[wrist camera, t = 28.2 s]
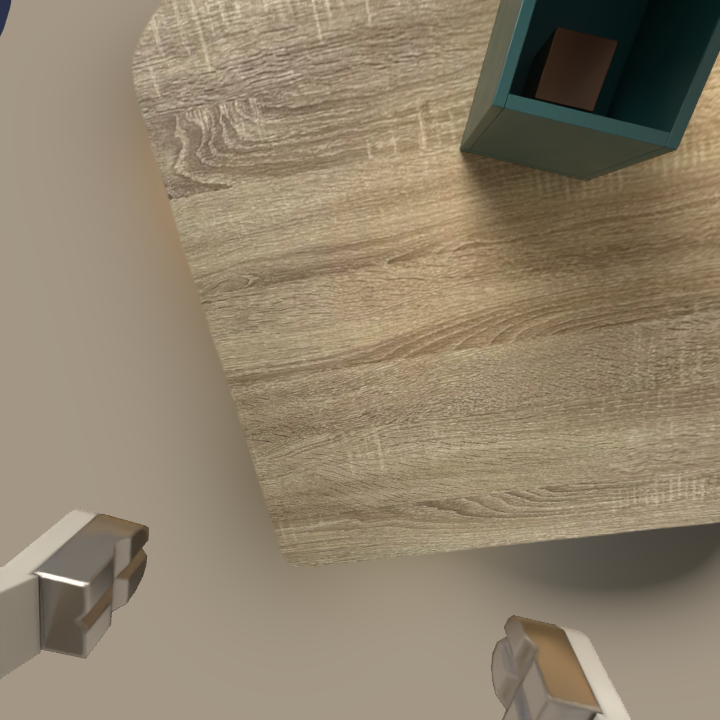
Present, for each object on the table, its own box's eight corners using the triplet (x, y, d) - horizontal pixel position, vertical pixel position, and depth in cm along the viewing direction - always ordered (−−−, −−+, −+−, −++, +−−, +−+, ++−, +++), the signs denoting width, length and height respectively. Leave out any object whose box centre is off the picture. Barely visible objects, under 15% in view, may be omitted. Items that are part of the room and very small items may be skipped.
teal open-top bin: (586, 181, 33) (677, 150, 23) (459, 150, 33) (491, 105, 23) (657, -6, 29) (805, -147, 19) (512, -41, 29) (580, -201, 19)
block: (514, 118, 31) (534, 97, 27) (533, 56, 30) (557, 25, 26) (565, 130, 31) (593, 111, 27) (586, 69, 30) (619, 40, 26)
